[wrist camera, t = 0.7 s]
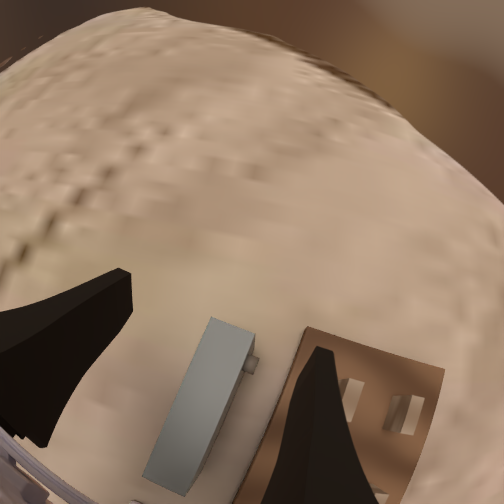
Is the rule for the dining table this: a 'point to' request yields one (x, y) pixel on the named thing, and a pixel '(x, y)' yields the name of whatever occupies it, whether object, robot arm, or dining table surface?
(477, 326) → the dining table surface
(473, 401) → the dining table surface
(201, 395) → the grey block
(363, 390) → the cabinet base
